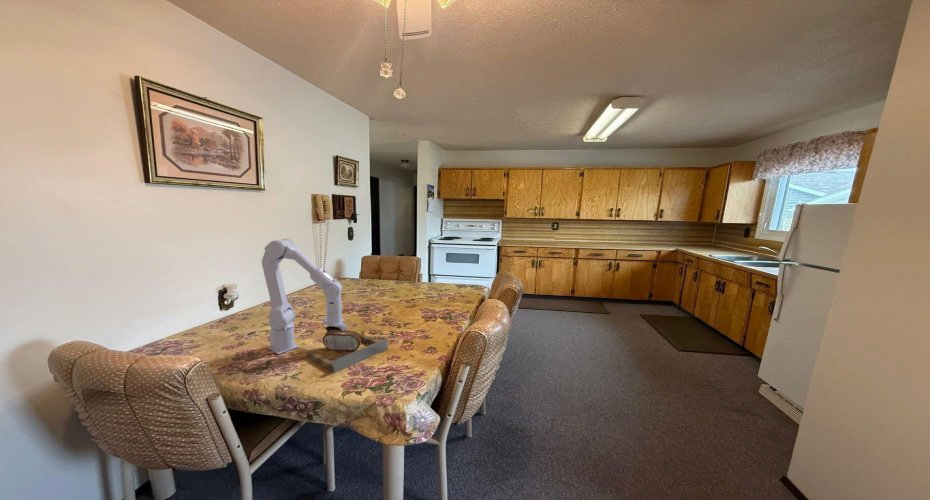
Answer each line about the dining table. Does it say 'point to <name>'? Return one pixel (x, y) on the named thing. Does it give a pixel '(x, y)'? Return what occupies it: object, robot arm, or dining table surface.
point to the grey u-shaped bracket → (351, 355)
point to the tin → (342, 340)
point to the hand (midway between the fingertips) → (335, 343)
